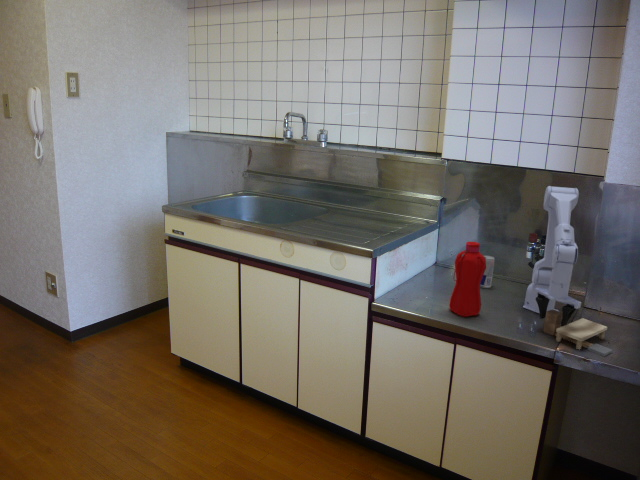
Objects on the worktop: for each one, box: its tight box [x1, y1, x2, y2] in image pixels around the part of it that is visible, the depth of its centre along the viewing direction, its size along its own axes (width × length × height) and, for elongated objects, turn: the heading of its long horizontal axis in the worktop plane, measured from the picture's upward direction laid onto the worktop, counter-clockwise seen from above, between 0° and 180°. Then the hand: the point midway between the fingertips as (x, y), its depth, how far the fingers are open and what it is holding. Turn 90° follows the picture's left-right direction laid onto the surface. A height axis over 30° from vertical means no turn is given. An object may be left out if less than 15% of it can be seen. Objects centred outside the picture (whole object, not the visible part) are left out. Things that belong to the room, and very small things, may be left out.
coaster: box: [586, 343, 613, 358], centre depth 164 cm, size 5×5×1 cm
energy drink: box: [480, 254, 496, 289], centre depth 214 cm, size 5×5×12 cm
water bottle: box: [448, 241, 486, 318], centre depth 185 cm, size 9×11×25 cm
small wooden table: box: [555, 317, 608, 351], centre depth 171 cm, size 8×16×4 cm, turn 128°
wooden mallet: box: [543, 309, 595, 349], centre depth 170 cm, size 15×4×7 cm, turn 38°
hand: (552, 322), depth 175 cm, fingers open, 7 cm apart
